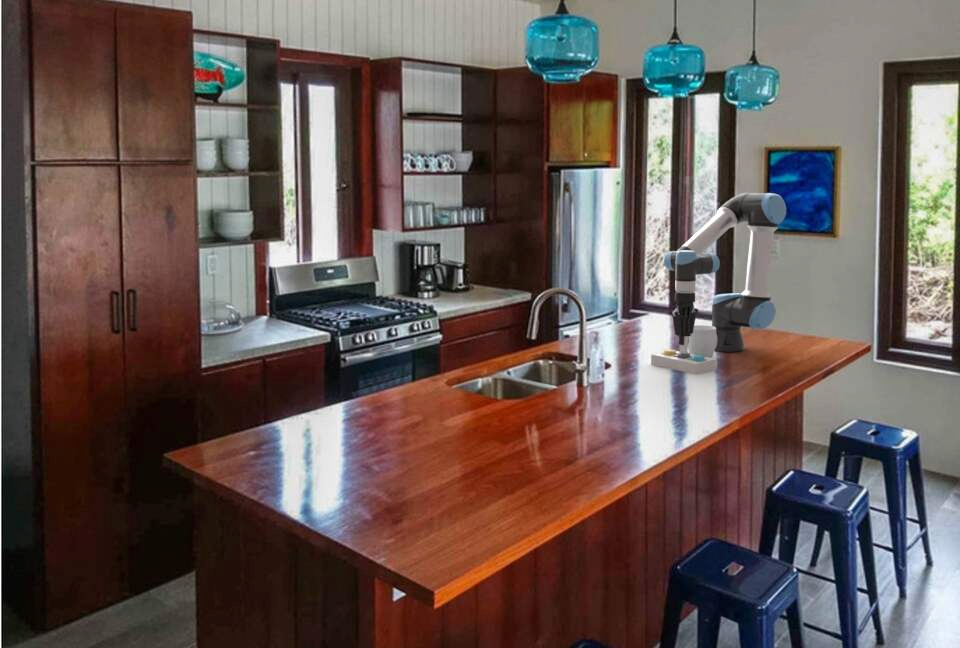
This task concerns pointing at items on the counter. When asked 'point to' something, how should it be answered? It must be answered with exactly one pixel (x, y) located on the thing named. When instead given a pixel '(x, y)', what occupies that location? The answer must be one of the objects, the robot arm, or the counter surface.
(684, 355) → the charcoal button
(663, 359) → the console
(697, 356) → the teal button
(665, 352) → the mustard button
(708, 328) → the mug
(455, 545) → the counter surface
